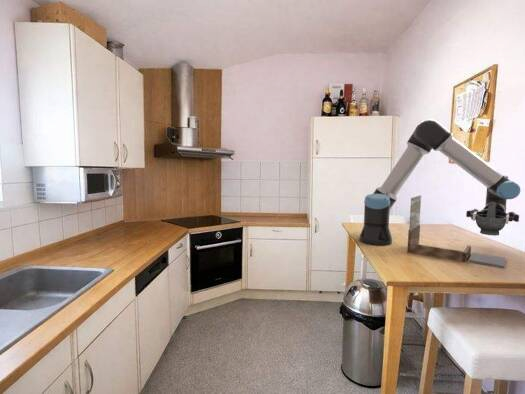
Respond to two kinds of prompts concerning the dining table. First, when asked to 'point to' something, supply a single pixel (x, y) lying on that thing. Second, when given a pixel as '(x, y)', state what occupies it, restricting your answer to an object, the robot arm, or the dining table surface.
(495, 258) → the slate pad
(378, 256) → the dining table surface
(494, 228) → the mortar and pestle
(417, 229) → the brown piece
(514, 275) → the dining table surface
